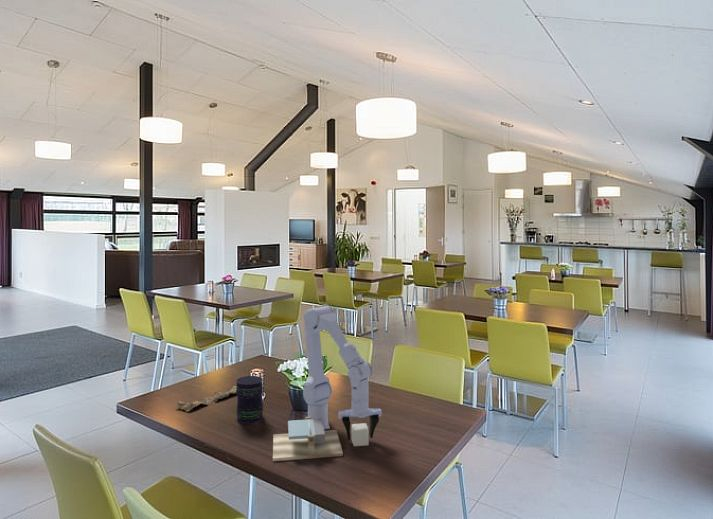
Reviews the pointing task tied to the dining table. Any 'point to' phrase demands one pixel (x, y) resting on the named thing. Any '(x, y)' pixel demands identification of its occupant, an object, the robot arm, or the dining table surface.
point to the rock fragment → (209, 400)
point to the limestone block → (360, 434)
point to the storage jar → (249, 399)
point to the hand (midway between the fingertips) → (359, 437)
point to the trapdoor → (306, 429)
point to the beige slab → (305, 447)
